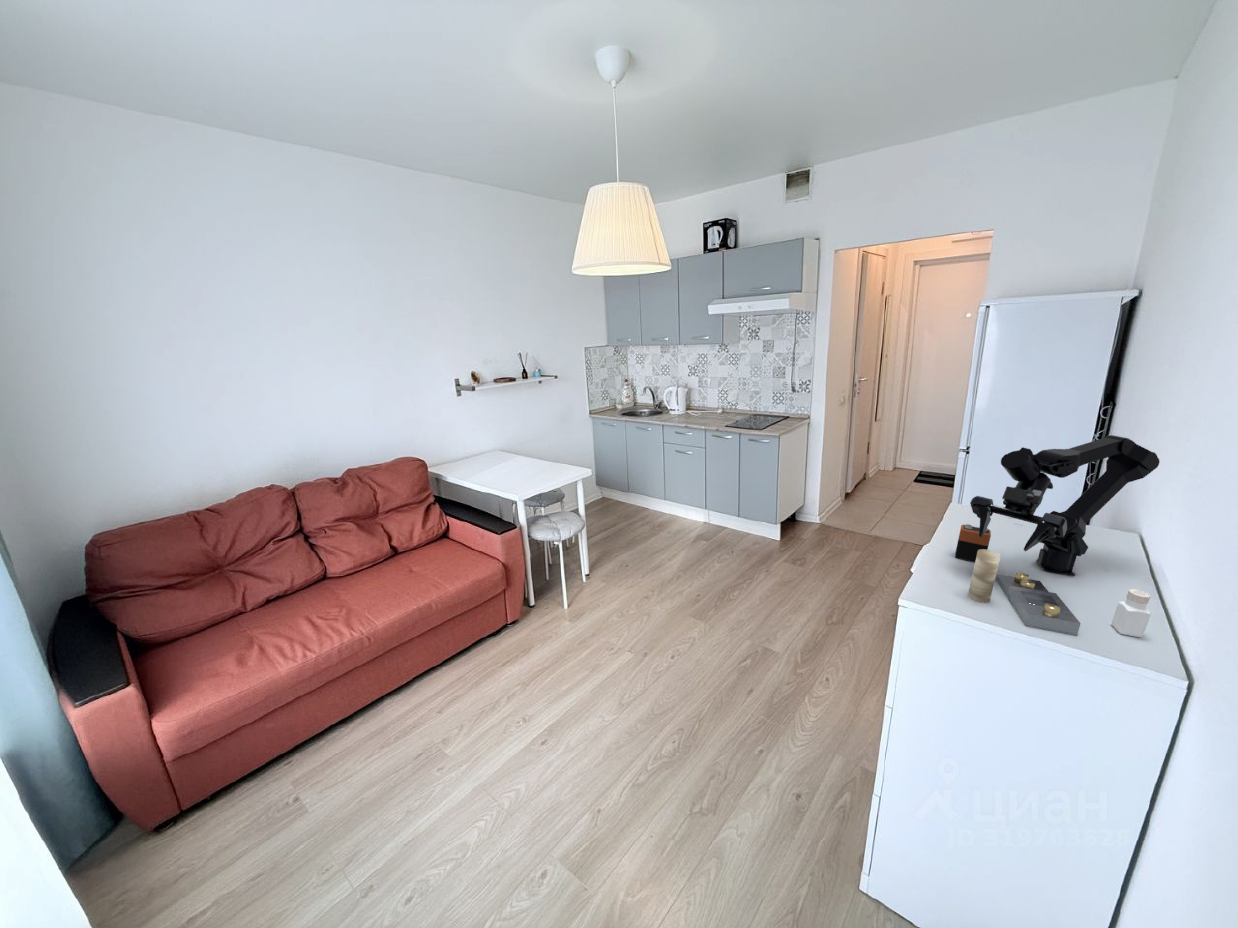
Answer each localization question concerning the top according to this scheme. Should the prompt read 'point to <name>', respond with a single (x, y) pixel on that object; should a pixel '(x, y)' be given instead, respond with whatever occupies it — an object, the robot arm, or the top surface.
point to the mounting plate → (1038, 604)
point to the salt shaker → (1132, 614)
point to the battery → (971, 542)
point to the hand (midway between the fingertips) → (1001, 543)
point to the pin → (984, 575)
